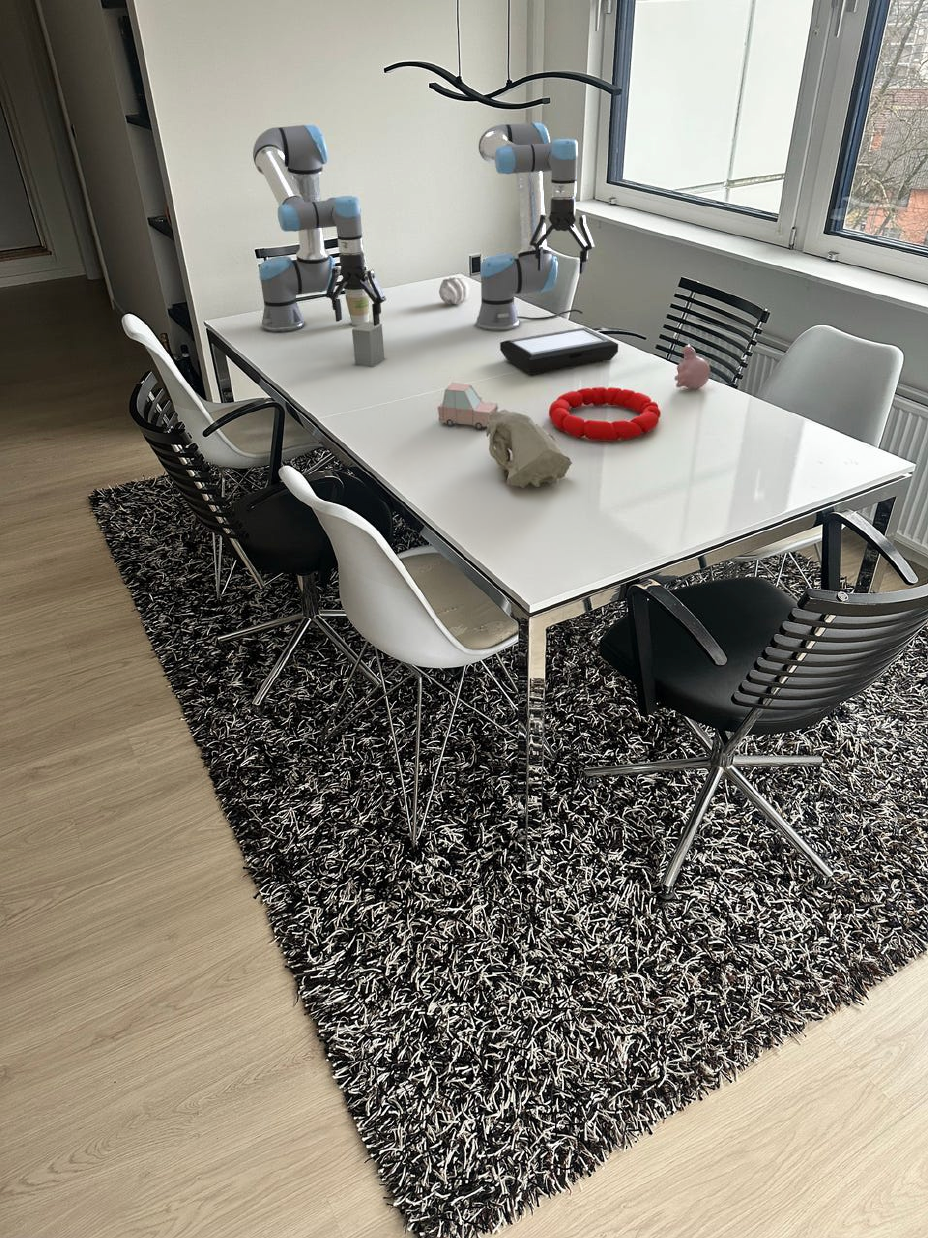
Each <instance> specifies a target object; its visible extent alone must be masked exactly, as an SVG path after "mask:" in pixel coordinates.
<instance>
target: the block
mask: <svg viewBox="0 0 928 1238" xmlns="http://www.w3.org/2000/svg"><path fill="white" fill-rule="evenodd" d="M351 335H352V336H351V337H352V345H353V356H354V365H355V366H361V367H368V368H369V367H370V368H373V367H375V366H377V365H378V364H380V363H381V362H382V361H384V360H385V349H384V347H385V346H384V337H383V336H384V333H383V324H382V323H381V322H380V323H379V324H378V325H376V326H374V322H369V321H368V322H363V323H362V324H360V325H358V326H356V325H355V327H353V328H352V329H351Z"/></svg>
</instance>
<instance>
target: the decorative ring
mask: <svg viewBox="0 0 928 1238" xmlns="http://www.w3.org/2000/svg"><path fill="white" fill-rule="evenodd" d="M583 405H584V406H586V407H587V406H591V405H593V406H604V405H608V406H614V407H619V408H624V409H628V410H632V411H635V412H636V413H638V414H639V415H637V416H635V417H632V418H631V419H630V420H625V419H624V420H623V419H622V420H614V421H611V422H609V421H607V420H606V421H605V420H593V419H587V420H586V421H585V419H584V418H582V417H579V416H577V415H573V414H571V413H570V410H571V409H579V408H581V407H582V406H583ZM548 416H549V419H550V422H551V423H552V425H553V426H554V427H555V428H556V429H558V430H559V431H561V432H563V433H567V434H568V435H569V436H573V437H576V438H580V439H582V438H583V437H585V438H586V439H587V440H591V441H601V442H602V441H603V442H608V441H609V442H610V441H611V442H612V441H615V442H616V441H618V440H630V439H634V438H638V437H641V436H642V434H647V433H650V432H651V431H653V430H654V429H655V428H656V427H657V426H658V424H659V422H660V421H659V420H660V417H661V410H660V408H659V405H658V403H657V402H656V401H652V399H651V397H649V396H648V395H646V394H644V393H642V392H635V391H634V390H632V389H628V388H624V389H622V388H620V387H613V386H612V387H611V386H610V387H608V388H606V387H604V386H594V387H585V388H584V387H583V388H580V389H578V390H571V391H568V392H565V393H563V394H561V395H560V396H558V397H557V398H556V400H554V401H552V403H551V404H550V407H549V409H548Z"/></svg>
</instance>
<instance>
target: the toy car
mask: <svg viewBox="0 0 928 1238" xmlns="http://www.w3.org/2000/svg"><path fill="white" fill-rule="evenodd" d="M498 409H499V404H498V403H497V402H490V401H489V402H487V401H483V397H481V396H480V395H479V394H478V393H477V391H476V390H475V389H474V386H472V384H469V383H459V382H451V383H450V384H449V385H448V386H447V387H446V388H445V389H444V394H443V399H442V403H440V404H439V405H438V406H437V413H438V421H439V422H443V423H446V425H447V426H448V427H452V426H454V425H455V424H461V425H469V426H473V427H475V429H476V430H479V431H480V430H481V429H483V428H485V427H486V428H487V423H488V422H490V414H491V413H492V412H496V411H499V410H498Z"/></svg>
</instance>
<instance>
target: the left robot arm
mask: <svg viewBox="0 0 928 1238" xmlns="http://www.w3.org/2000/svg"><path fill="white" fill-rule="evenodd" d="M252 158H253V163H254V165H255V167H256V170H257V171H258V172H259V173H260V174H261V175H262V176H264V178H265V180H266V182H267V184H268V186H269V188H270V191H271V192H272V194H273V196H274V198H275V200H276V202H277V204H278V208H277V220H278V223H279V227H280V228H281V230H282V231H283V232H285V233H286V232H294V233H296V232H297V233H298V242H299V243H298V244H299V249H298V250H297V251H296V253H295V255H296V256H295V257H296V259H293V260H292V258H291V257H290V256H288V255H283V256H275V257H271V258H268V259H266V260H264V261H262V262H261V263H260V265H259V266H258V273H259V274H258V275H259V280H260V287H261V292H262V299H263V313H262V319H261V326H262V330H264V331H265V332H271V333H286V332H293V331H296V330H297V331H298V330H300V329H302V328H304V326H305V319H304V317H303V314H302V312H301V310H300V307H299V306H298V305H299V304H298V303H297V296H300V295H306V294H315V293H323V292H326V293H325V298H327V299H330V300H331V306H332V307H331V308H332V310H333V311H334V314H335V316H334V317H335V322H337V323H339V322H340V321H342V320H343V314H342V304H341V303H342V302H341V298H339V297H340V295H341V293H342V292H343V290H344V287H345V286H346V284H347V283H348V284H354V285H358V284H359V285H360V286H361V287H362V288H363V289H364V290H365V292H366V293H367V294H368V296H369V299H371V301H372V302H373V303H371V310H372V321H373V322H372V323H374V326H376V325H378V324H379V323H380V324H381V321H380V315H381V314H382V305H381V304H382V303H384V302H386V300H387V297H386V296H385V294H384V291H383V289H382V287H381V285H380V284H379V282H378V279H377V278H376V277H377V276H376V272H375V269H374V268H373V269H370V270H366V269H365V253H364V252H363V251H364V242H363V241H364V240H363V229H362V215H361V210H362V209H361V206H360V200H359V198H358V197H356V196H352V195H342V196H338V197H329V198H327V199H326V200H321V191H320V190H321V189H320V179H319V177H320V175H321V174H322V173H323V172H324V171H323V169H324V168H323V165H326V164H327V163H328V150H327V145H326V141H325V138H324V136H323V133H322V131H321V130H320V128H319V127H318V126H317V125H315V124H312V125H310V124H301V125H291V126H290V125H289V126H280V127H279V126H278V127H271V128H268V129H266V130H264V131H263V132H261V133H260V134H259V136H258V137H257V138H256V140H255V143H254V146H253V149H252ZM334 227H336V236H337V247H338V252H339V254H338V255H339V256H338V257H339V265H340V267H339V266H336V263H335V259H334V258H333V256H331V255H330V252H329V251H328V250H327V249H326V248H325V240H324V239H325V238H324V229H325V228H326V229H327V228H334ZM340 275H341V277H342V279H341V280H340V282H339V284H338V285H337V282H338V279H339V277H340ZM366 279H368V281H367V280H366ZM362 281H363V282H362ZM368 282H369V283H370V285H369V284H368ZM336 285H337V287H336ZM335 288H336V289H335Z"/></svg>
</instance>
